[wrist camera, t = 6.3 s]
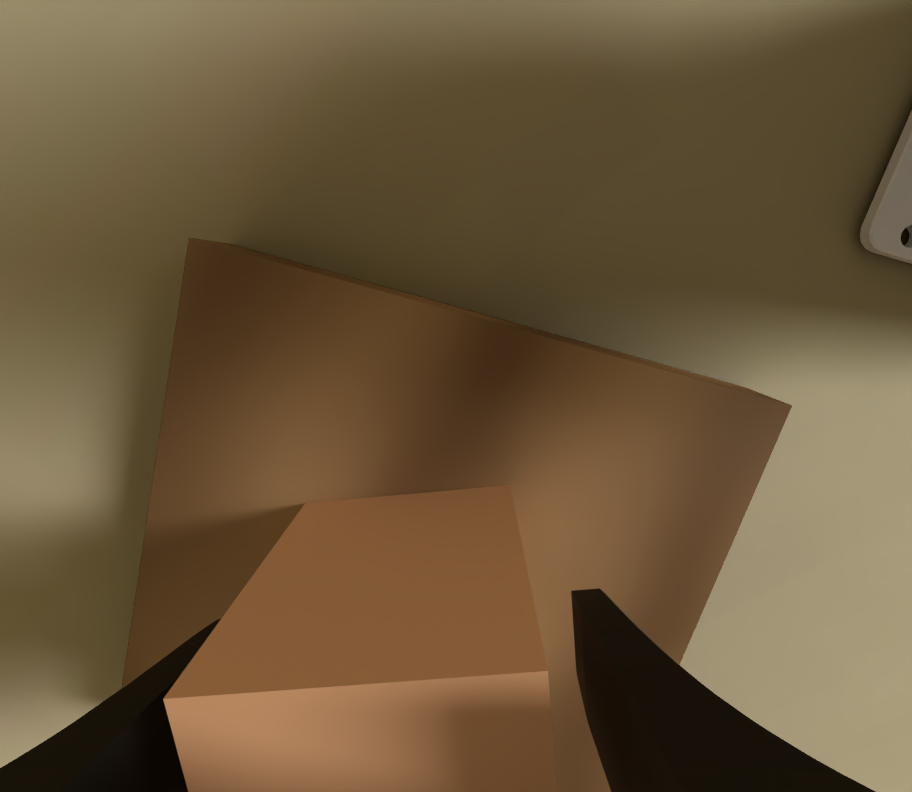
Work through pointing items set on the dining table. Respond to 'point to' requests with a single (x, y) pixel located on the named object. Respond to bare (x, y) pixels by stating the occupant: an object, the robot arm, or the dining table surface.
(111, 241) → the dining table surface
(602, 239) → the dining table surface
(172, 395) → the walnut base
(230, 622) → the terracotta block
